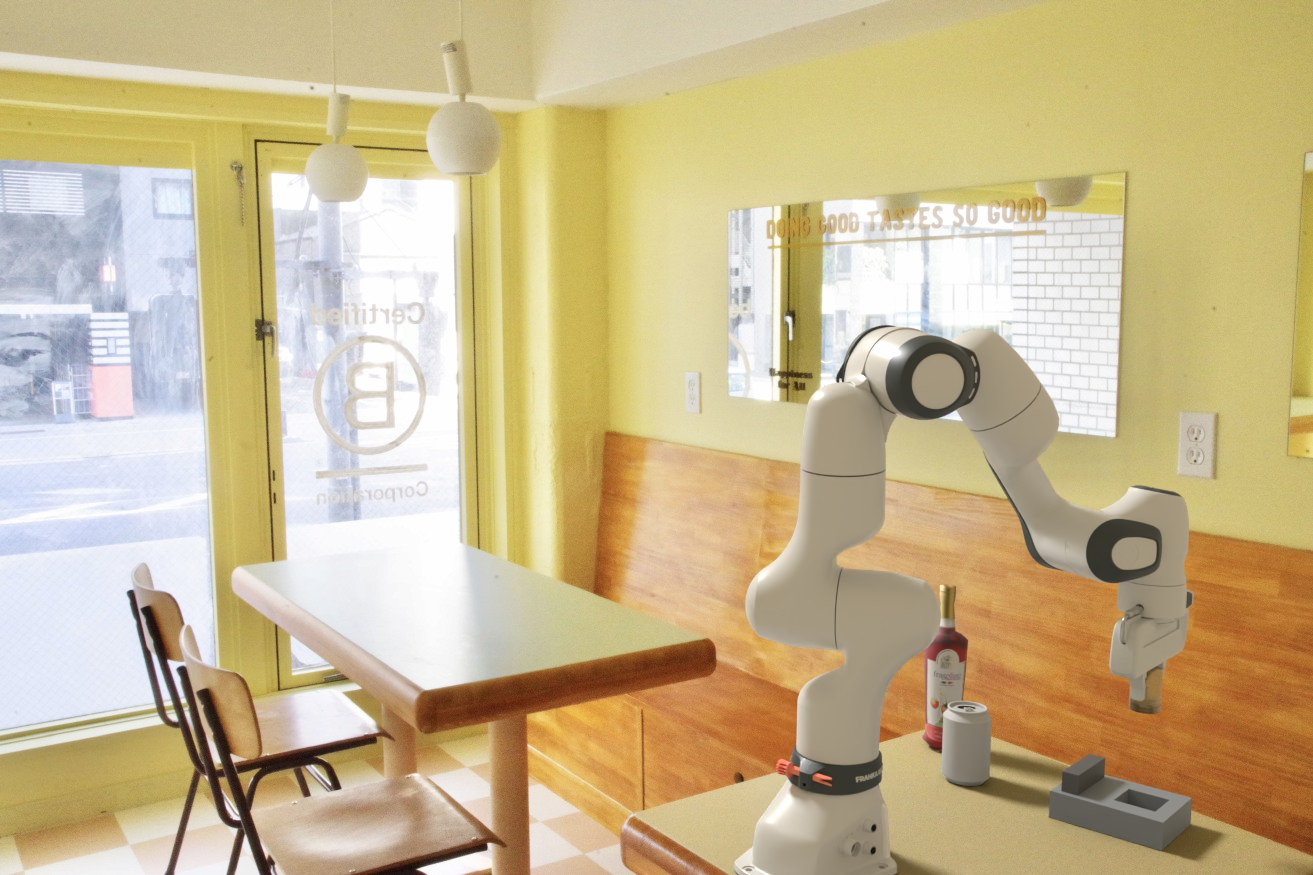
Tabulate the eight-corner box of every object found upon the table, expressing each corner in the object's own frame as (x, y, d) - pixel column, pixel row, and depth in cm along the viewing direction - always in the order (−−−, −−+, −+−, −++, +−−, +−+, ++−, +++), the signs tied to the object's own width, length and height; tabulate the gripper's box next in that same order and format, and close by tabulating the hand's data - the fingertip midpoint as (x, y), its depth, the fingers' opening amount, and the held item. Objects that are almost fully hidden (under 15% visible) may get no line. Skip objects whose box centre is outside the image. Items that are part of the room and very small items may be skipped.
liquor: (923, 752, 193) (928, 589, 191) (918, 737, 200) (923, 580, 198) (967, 754, 192) (973, 591, 190) (960, 739, 199) (966, 582, 197)
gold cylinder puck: (1154, 716, 159) (1156, 674, 159) (1124, 708, 162) (1126, 668, 162) (1164, 708, 163) (1167, 668, 162) (1134, 702, 165) (1137, 661, 165)
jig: (1161, 850, 156) (1164, 801, 155) (1048, 816, 167) (1050, 770, 166) (1190, 824, 165) (1193, 777, 164) (1081, 793, 176) (1083, 749, 175)
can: (984, 771, 185) (987, 699, 184) (993, 789, 177) (996, 713, 176) (937, 768, 185) (940, 697, 184) (944, 786, 178) (947, 711, 177)
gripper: (1147, 616, 151) (1141, 717, 152) (1197, 591, 166) (1192, 683, 167) (1099, 608, 155) (1095, 706, 157) (1153, 584, 170) (1148, 674, 172)
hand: (1146, 694), depth 162 cm, fingers closed on gold cylinder puck, 4 cm apart
